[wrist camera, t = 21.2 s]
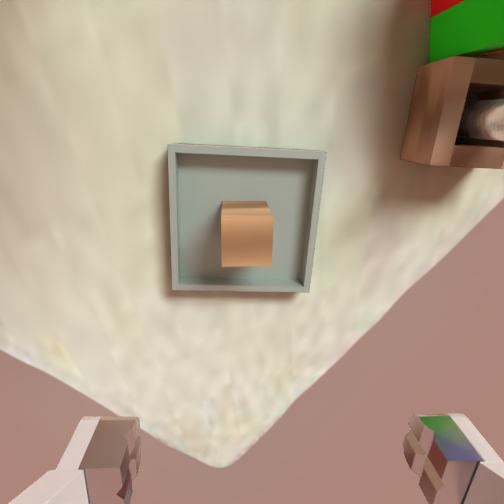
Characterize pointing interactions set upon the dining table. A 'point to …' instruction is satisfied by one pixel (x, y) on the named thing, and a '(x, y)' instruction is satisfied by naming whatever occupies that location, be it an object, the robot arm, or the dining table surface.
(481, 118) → the cylinder
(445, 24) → the puzzle toy
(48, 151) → the dining table surface
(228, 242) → the oak block
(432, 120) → the brown square socket box
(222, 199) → the tray
